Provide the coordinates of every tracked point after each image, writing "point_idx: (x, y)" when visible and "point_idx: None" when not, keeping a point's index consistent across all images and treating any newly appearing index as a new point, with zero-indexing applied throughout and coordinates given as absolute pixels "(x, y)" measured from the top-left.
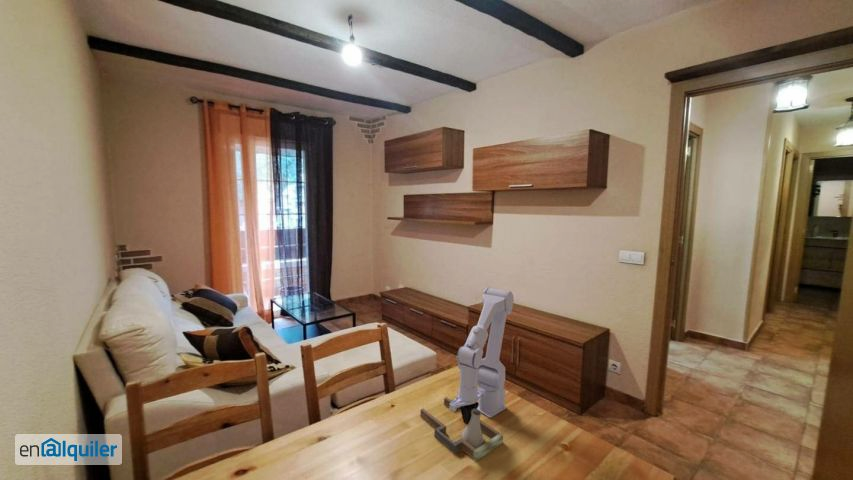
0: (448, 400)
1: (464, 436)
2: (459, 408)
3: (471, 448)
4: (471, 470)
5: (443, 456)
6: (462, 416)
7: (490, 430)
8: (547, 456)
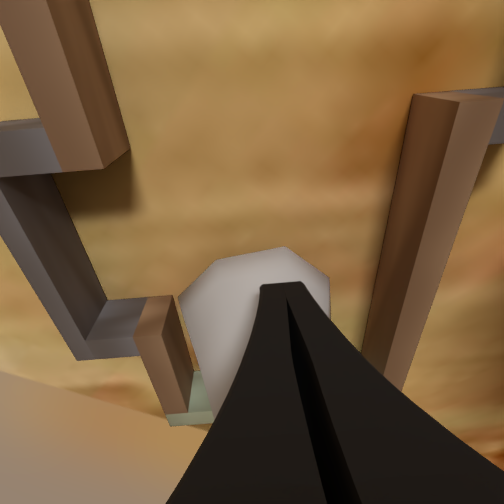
0: None
1: (190, 332)
2: (203, 444)
3: (166, 403)
4: (128, 401)
5: (21, 304)
6: (252, 331)
7: (385, 357)
8: None
